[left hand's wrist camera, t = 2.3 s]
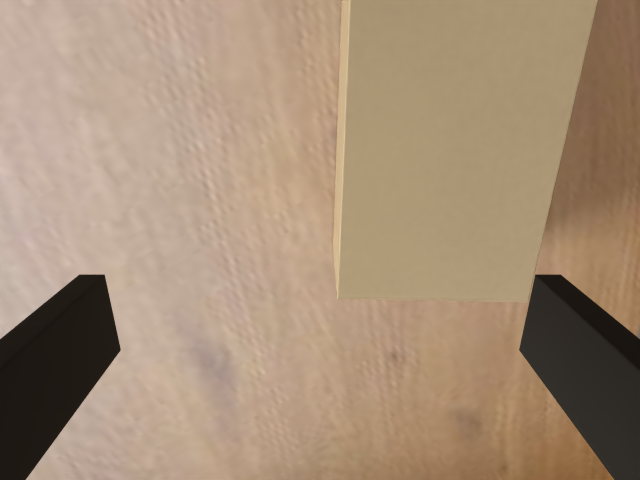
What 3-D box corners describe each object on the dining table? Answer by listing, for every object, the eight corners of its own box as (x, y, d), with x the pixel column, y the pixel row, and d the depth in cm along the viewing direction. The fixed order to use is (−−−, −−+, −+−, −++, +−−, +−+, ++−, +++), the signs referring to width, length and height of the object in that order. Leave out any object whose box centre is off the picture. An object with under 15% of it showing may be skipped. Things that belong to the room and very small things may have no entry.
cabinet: (343, -44, 25) (353, -98, 17) (529, -39, 25) (619, -91, 17) (332, 247, 32) (337, 299, 24) (478, 250, 32) (528, 302, 24)
